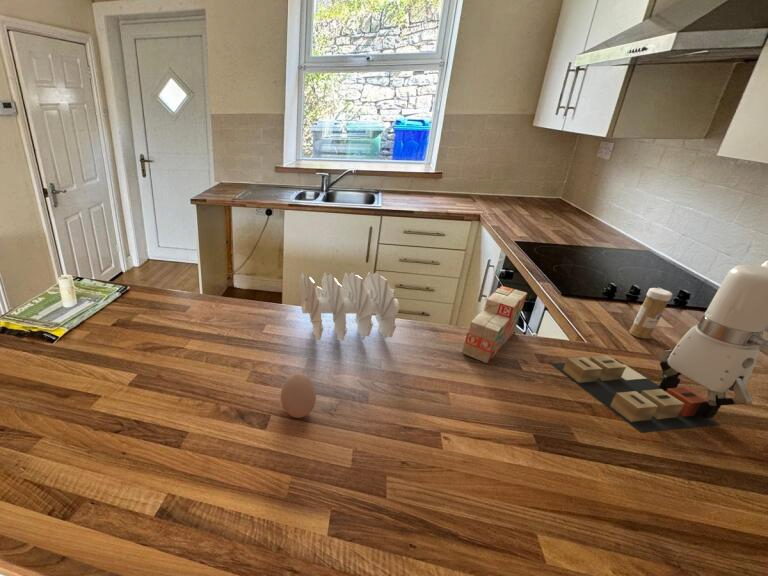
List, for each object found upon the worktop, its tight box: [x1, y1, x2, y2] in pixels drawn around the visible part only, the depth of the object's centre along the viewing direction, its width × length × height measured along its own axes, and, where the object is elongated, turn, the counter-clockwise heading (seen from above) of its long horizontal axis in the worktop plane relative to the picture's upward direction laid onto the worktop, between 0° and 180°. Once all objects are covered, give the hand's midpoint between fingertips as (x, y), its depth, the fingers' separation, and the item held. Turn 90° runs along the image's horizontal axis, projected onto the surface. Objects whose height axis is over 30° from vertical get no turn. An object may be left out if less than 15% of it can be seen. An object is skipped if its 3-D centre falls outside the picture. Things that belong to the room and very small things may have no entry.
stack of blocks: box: [461, 285, 528, 364], centre depth 102 cm, size 21×6×12 cm, turn 134°
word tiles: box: [563, 354, 684, 422], centre depth 86 cm, size 10×16×4 cm, turn 7°
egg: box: [280, 372, 317, 419], centre depth 78 cm, size 7×7×10 cm
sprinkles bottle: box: [628, 287, 673, 340], centre depth 107 cm, size 5×5×13 cm
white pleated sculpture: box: [298, 270, 400, 342], centre depth 104 cm, size 18×18×25 cm
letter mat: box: [550, 358, 722, 434], centre depth 87 cm, size 18×22×1 cm
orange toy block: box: [666, 386, 708, 417], centre depth 82 cm, size 4×4×4 cm
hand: (682, 404), depth 82 cm, fingers open, 6 cm apart
